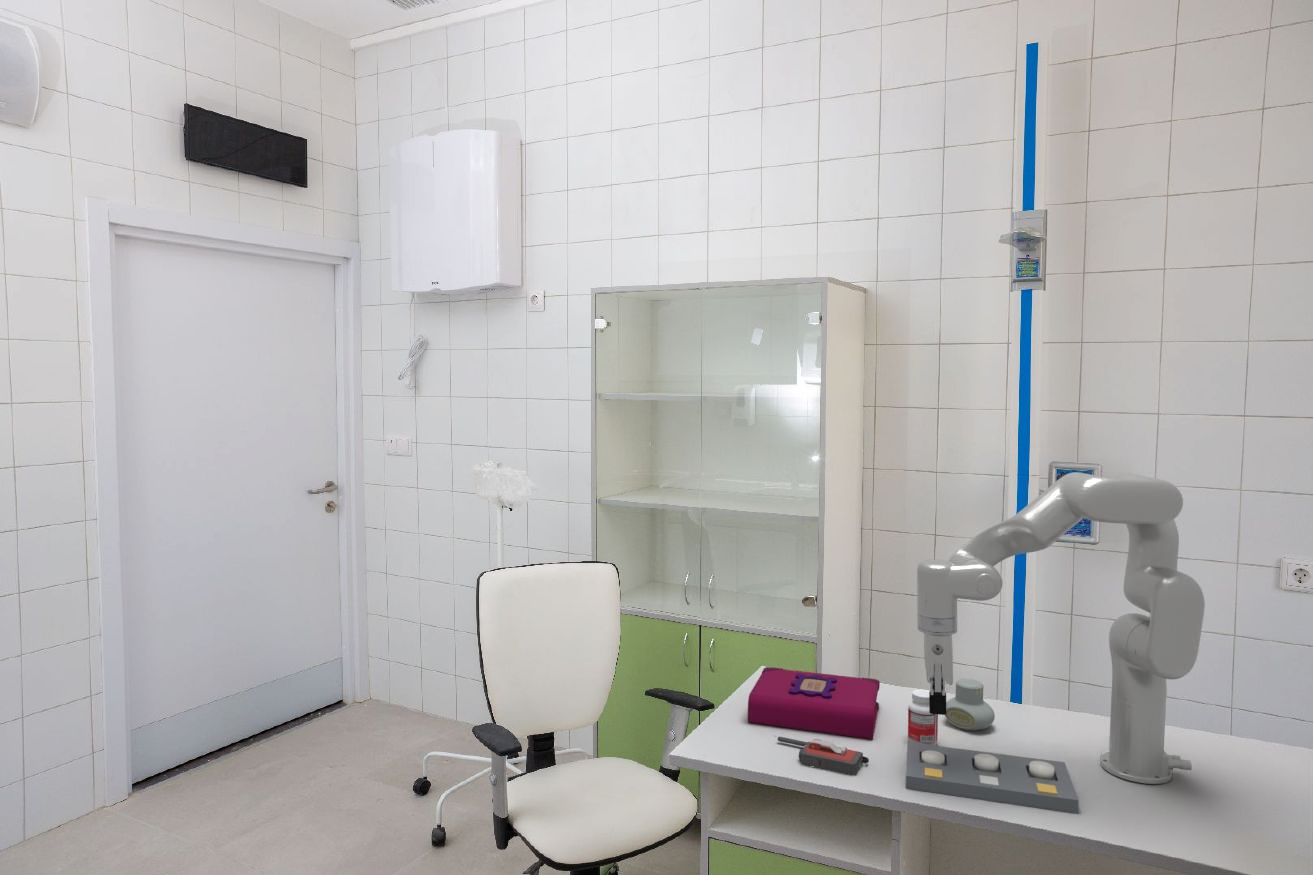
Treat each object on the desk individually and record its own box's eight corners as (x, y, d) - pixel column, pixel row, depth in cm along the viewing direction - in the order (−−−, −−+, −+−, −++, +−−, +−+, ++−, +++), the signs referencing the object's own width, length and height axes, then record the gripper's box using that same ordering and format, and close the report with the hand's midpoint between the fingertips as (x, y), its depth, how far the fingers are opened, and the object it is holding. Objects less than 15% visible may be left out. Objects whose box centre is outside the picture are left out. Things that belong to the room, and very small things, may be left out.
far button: (944, 760, 169) (944, 752, 169) (944, 770, 165) (944, 761, 165) (921, 757, 171) (921, 749, 171) (921, 766, 166) (921, 758, 166)
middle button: (997, 764, 166) (997, 755, 166) (999, 773, 162) (999, 764, 162) (973, 761, 168) (973, 752, 167) (974, 770, 163) (975, 761, 163)
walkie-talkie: (871, 761, 172) (779, 742, 182) (871, 741, 172) (779, 722, 181) (861, 779, 165) (765, 758, 174) (861, 758, 164) (765, 737, 174)
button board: (1064, 774, 167) (1064, 760, 166) (1078, 813, 151) (1078, 798, 151) (907, 753, 176) (907, 740, 175) (905, 788, 160) (906, 774, 160)
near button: (1052, 771, 163) (1052, 762, 163) (1055, 781, 159) (1056, 772, 159) (1027, 768, 165) (1028, 759, 164) (1030, 778, 160) (1030, 769, 160)
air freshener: (937, 723, 191) (938, 680, 191) (954, 713, 197) (956, 672, 196) (982, 738, 183) (984, 693, 183) (1000, 727, 189) (1001, 684, 188)
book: (873, 743, 182) (874, 709, 181) (747, 725, 191) (747, 693, 190) (879, 707, 202) (880, 676, 201) (764, 693, 210) (765, 664, 210)
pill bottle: (918, 734, 185) (919, 685, 185) (942, 743, 181) (944, 693, 180) (901, 741, 181) (902, 692, 181) (926, 751, 177) (928, 700, 176)
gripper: (958, 635, 158) (959, 729, 159) (955, 613, 172) (956, 700, 173) (917, 632, 160) (917, 725, 161) (917, 611, 174) (918, 697, 175)
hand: (937, 712), depth 167 cm, fingers closed
